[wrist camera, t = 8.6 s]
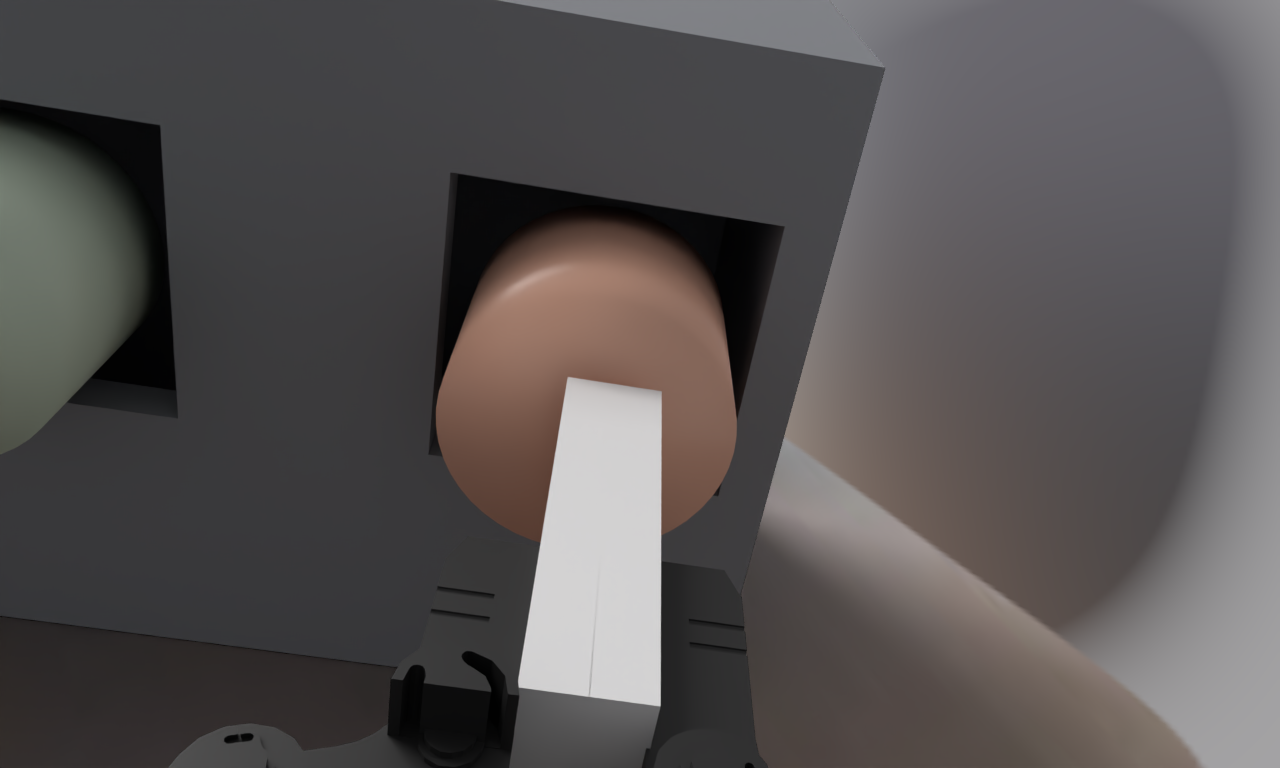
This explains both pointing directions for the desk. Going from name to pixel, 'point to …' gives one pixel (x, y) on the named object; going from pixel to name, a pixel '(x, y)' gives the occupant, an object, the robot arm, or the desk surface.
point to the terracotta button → (586, 359)
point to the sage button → (65, 267)
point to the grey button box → (391, 278)
